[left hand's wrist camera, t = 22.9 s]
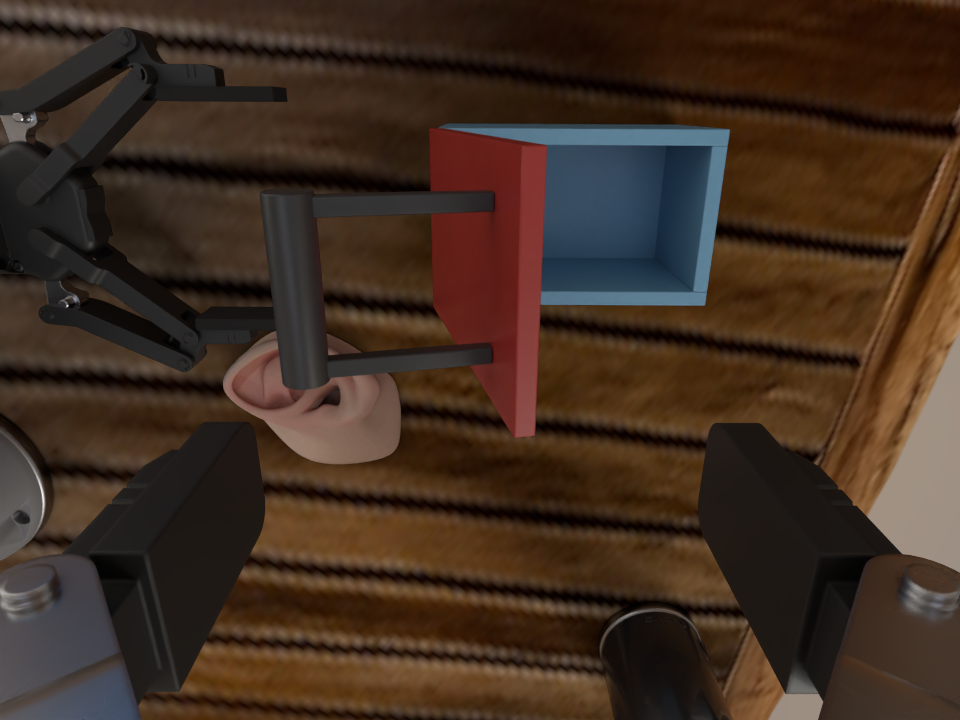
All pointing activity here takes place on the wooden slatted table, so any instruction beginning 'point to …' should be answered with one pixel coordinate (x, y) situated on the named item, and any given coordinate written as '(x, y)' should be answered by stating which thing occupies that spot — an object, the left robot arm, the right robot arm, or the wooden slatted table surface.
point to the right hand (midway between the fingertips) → (293, 213)
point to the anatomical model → (319, 406)
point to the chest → (625, 210)
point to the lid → (456, 270)
